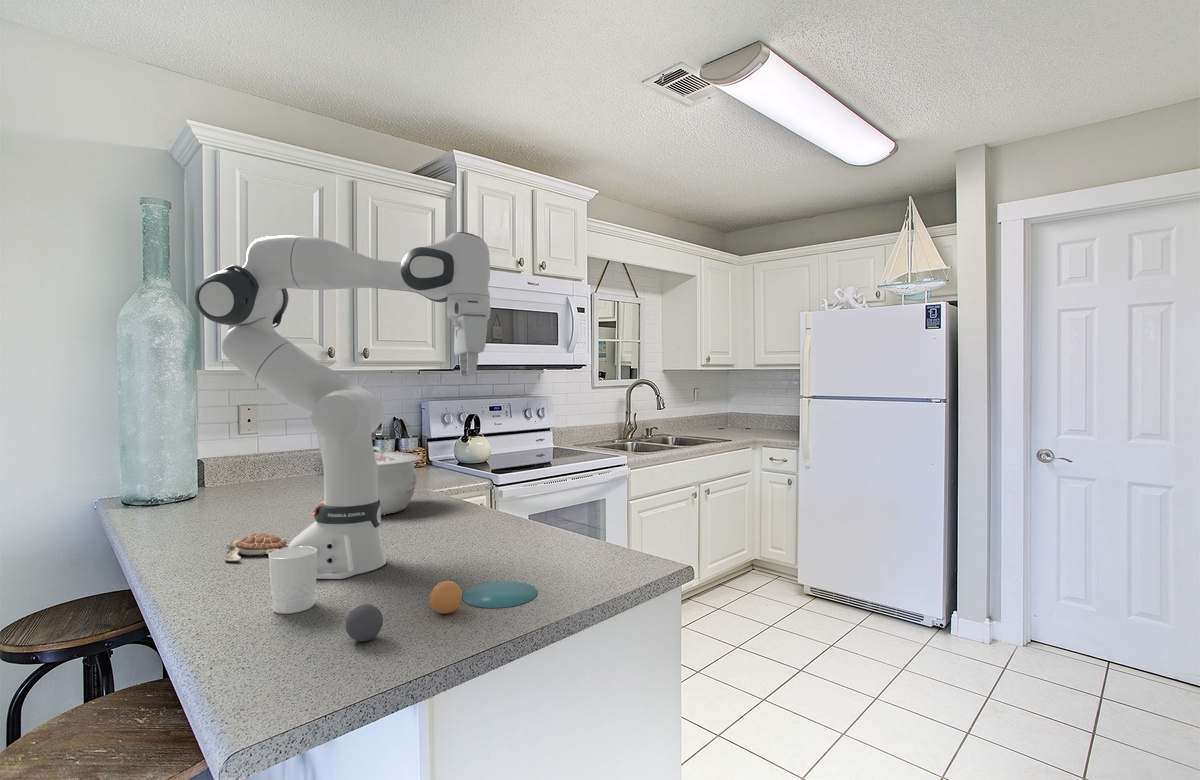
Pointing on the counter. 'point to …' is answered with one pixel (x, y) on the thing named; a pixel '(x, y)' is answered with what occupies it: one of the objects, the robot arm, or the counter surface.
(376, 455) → the chamber pot
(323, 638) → the counter surface
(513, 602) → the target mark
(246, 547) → the decorative turtle
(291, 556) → the white cup
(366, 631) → the dark gray ball
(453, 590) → the object ball
